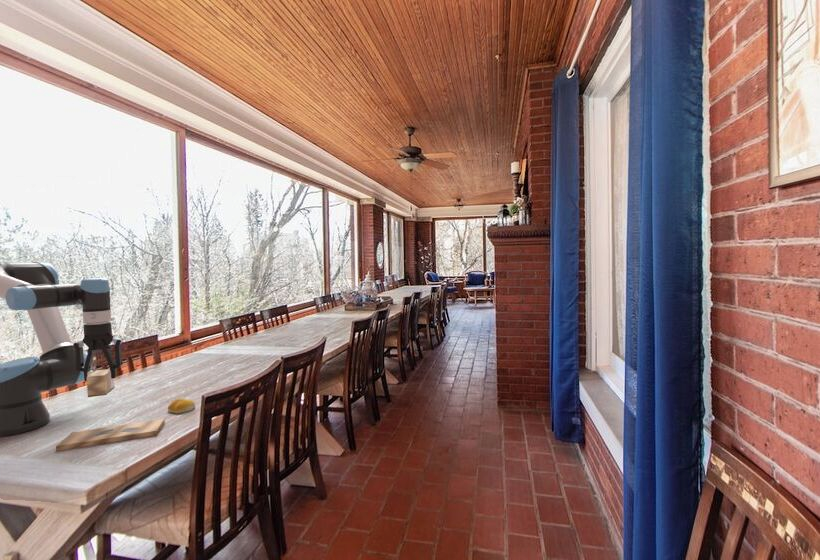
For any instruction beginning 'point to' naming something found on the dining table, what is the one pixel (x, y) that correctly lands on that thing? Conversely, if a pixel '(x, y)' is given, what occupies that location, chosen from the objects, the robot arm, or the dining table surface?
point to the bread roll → (181, 406)
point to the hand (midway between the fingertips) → (101, 388)
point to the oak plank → (111, 434)
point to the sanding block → (98, 383)
